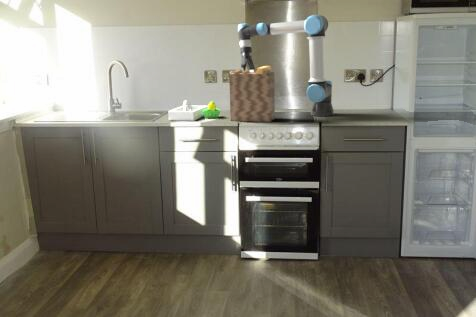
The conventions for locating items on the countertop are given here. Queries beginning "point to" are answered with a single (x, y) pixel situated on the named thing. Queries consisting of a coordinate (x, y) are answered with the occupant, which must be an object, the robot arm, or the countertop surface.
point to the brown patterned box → (252, 96)
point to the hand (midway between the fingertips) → (249, 79)
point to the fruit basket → (211, 111)
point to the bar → (263, 69)
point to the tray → (186, 113)
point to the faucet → (186, 106)
